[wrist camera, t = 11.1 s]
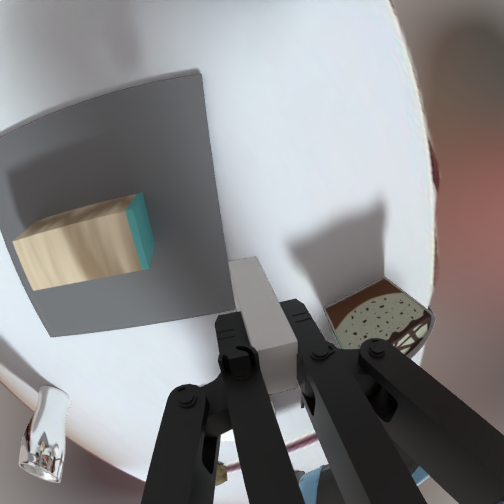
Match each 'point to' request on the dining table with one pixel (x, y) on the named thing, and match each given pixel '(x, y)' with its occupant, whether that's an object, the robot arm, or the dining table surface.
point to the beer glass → (46, 436)
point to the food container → (381, 318)
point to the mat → (120, 185)
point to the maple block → (87, 243)
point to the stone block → (221, 474)
